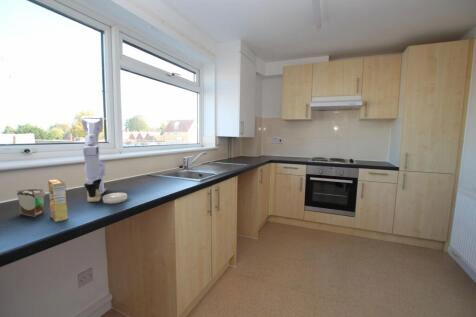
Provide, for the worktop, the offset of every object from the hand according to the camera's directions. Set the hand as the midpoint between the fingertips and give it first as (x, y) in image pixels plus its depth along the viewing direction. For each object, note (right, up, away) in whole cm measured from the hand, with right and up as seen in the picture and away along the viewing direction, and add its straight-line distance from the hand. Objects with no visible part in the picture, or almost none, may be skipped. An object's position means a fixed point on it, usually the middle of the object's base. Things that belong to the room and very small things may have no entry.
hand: (94, 195), depth 115 cm
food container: (-13, -5, -19) cm, 23 cm away
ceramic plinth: (+11, -3, 0) cm, 11 cm away
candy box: (+1, -6, -24) cm, 24 cm away
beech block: (0, -3, 0) cm, 3 cm away
